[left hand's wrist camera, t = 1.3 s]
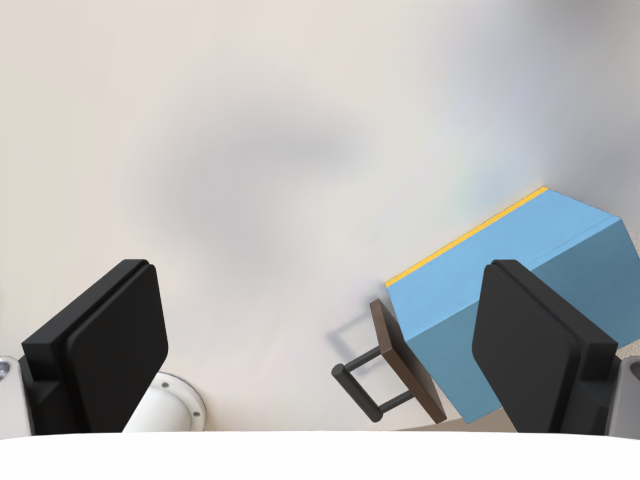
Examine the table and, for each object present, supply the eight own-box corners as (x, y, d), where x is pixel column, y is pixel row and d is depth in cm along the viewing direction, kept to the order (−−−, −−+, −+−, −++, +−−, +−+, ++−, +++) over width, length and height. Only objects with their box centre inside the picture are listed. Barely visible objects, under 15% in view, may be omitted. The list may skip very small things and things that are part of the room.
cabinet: (435, 352, 45) (467, 424, 35) (384, 283, 42) (404, 341, 32) (586, 269, 41) (670, 323, 31) (543, 186, 38) (621, 218, 28)
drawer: (371, 388, 46) (382, 452, 38) (323, 331, 43) (324, 386, 35) (556, 287, 41) (614, 334, 33) (515, 215, 38) (568, 247, 30)
